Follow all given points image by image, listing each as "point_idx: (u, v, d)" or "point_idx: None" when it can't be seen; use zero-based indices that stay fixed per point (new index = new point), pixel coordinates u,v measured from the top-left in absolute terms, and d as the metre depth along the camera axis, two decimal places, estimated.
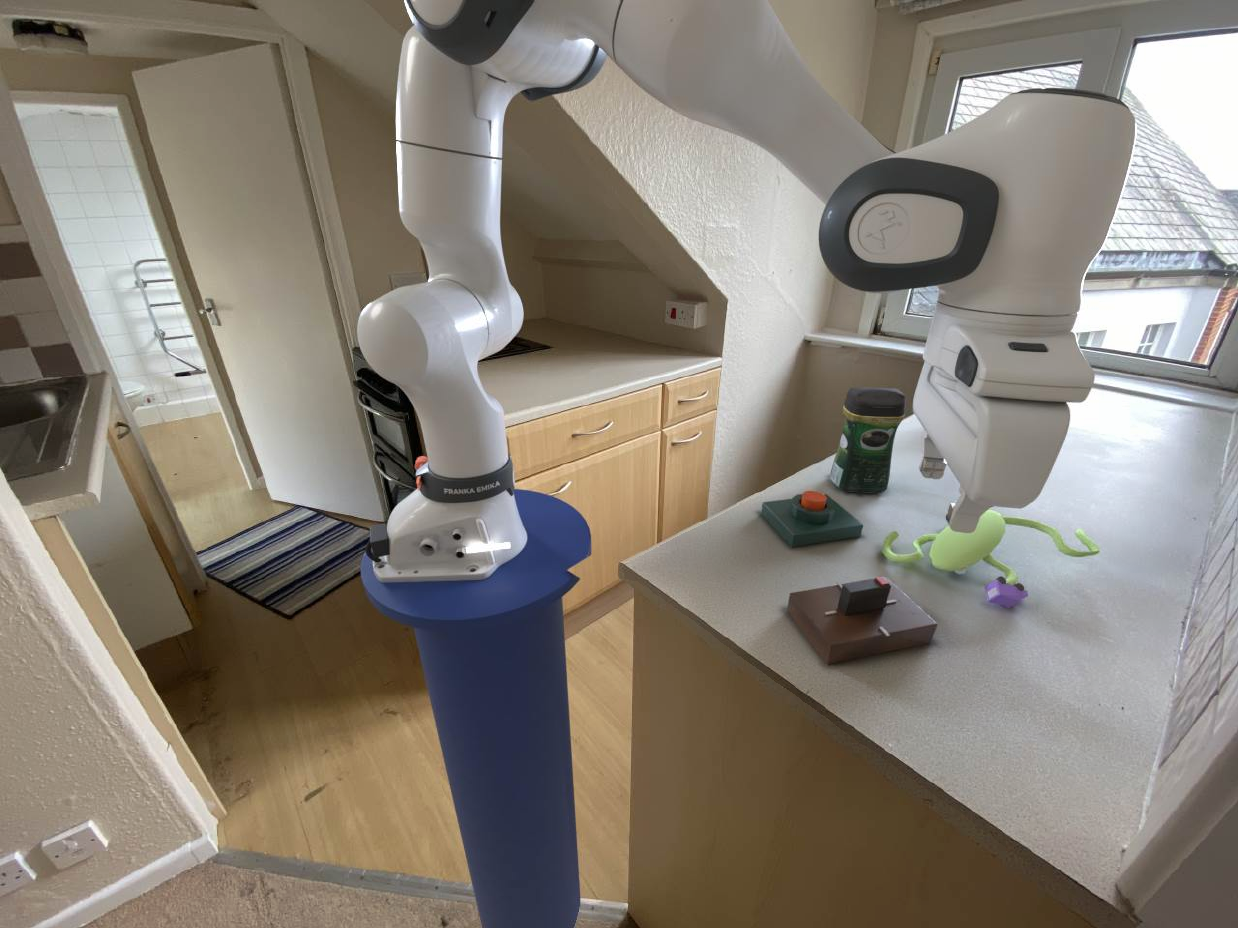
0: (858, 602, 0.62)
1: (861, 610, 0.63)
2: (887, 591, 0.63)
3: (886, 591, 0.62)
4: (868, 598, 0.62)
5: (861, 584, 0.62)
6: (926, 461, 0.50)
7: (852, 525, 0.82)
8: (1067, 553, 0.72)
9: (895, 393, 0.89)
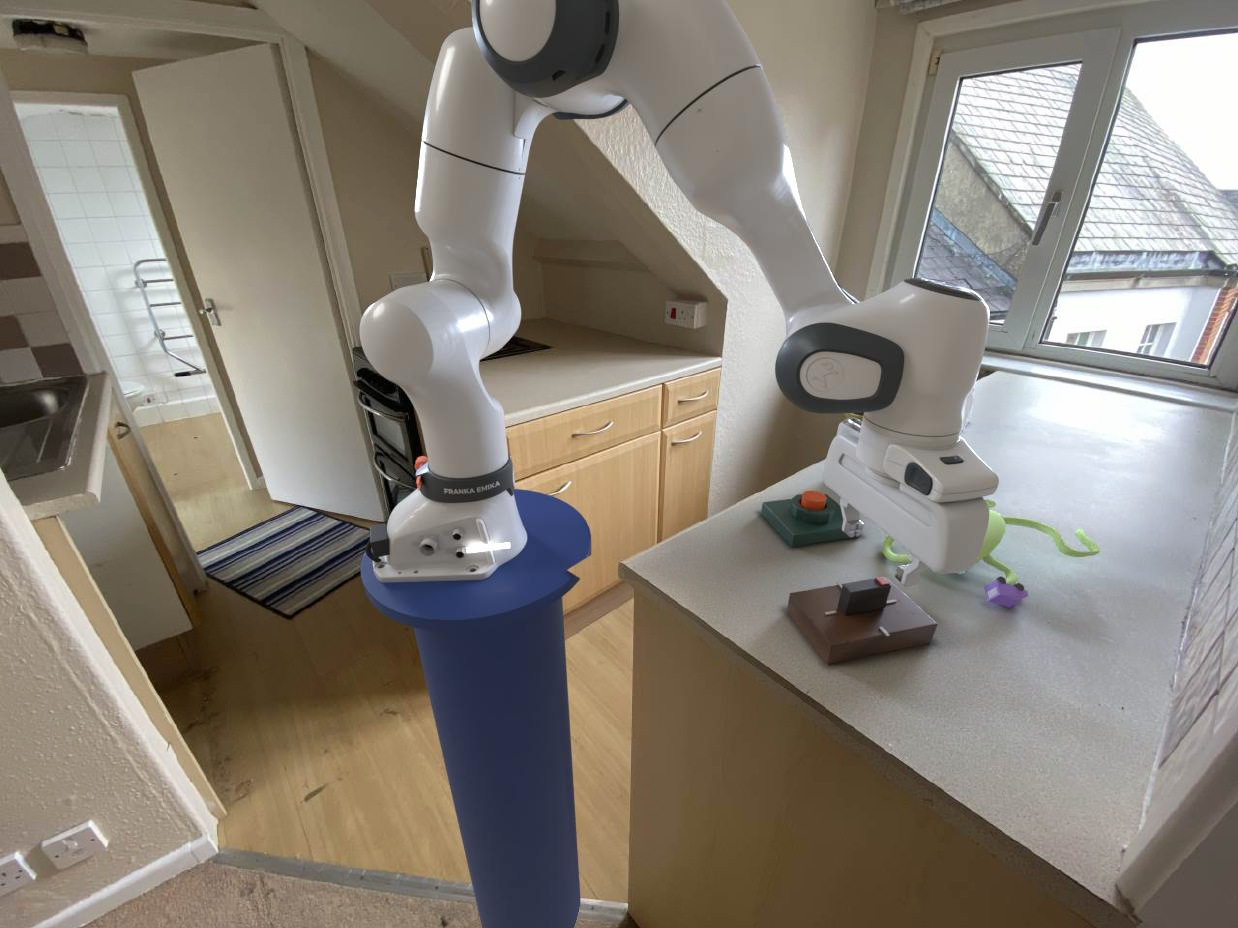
0: (858, 602, 0.62)
1: (861, 610, 0.63)
2: (887, 591, 0.63)
3: (886, 591, 0.62)
4: (868, 598, 0.62)
5: (861, 584, 0.62)
6: (851, 526, 0.63)
7: None
8: (1067, 553, 0.72)
9: None
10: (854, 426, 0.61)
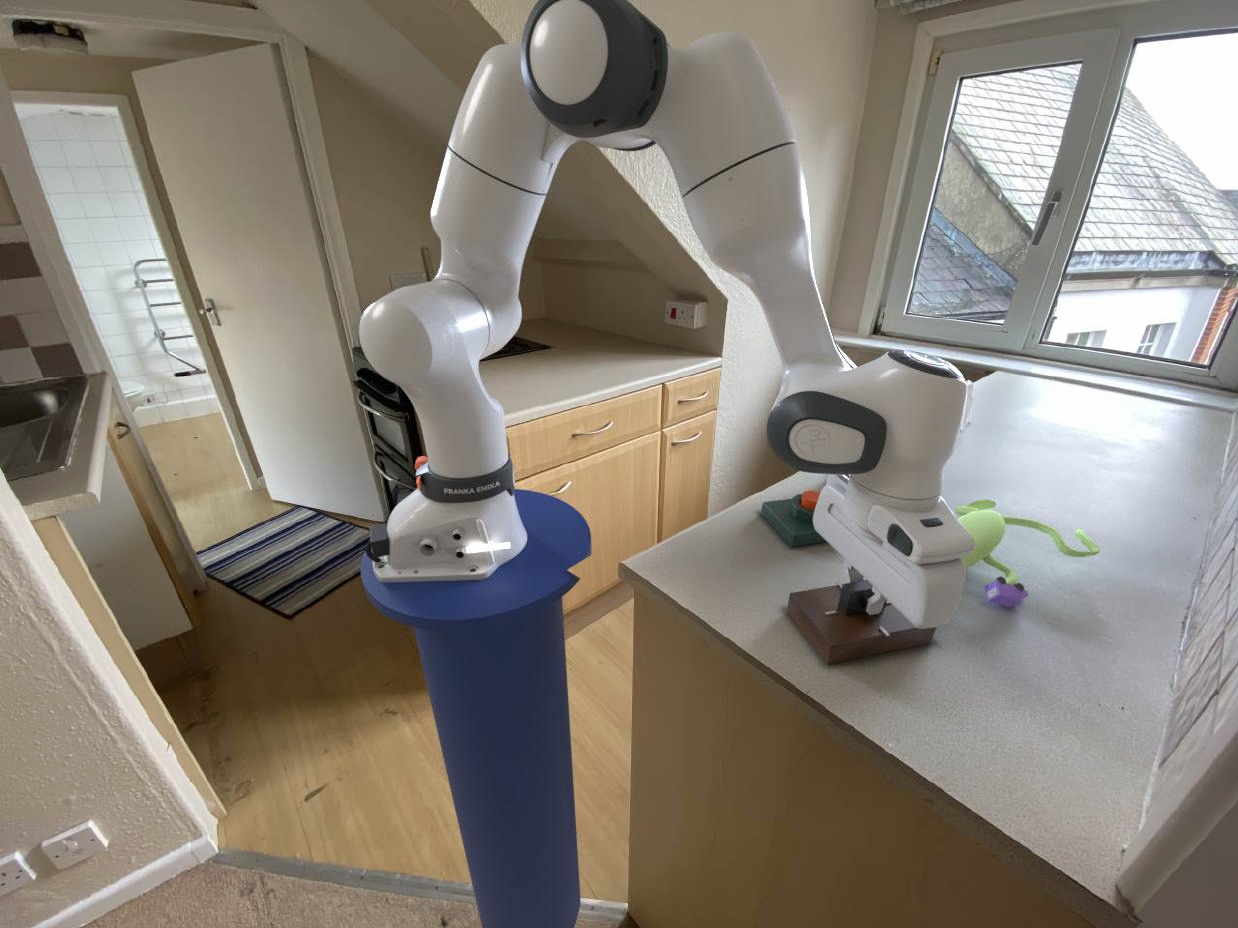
0: (858, 602, 0.62)
1: (861, 610, 0.63)
2: None
3: None
4: None
5: (861, 584, 0.62)
6: None
7: None
8: (1067, 553, 0.72)
9: None
10: (842, 478, 0.64)
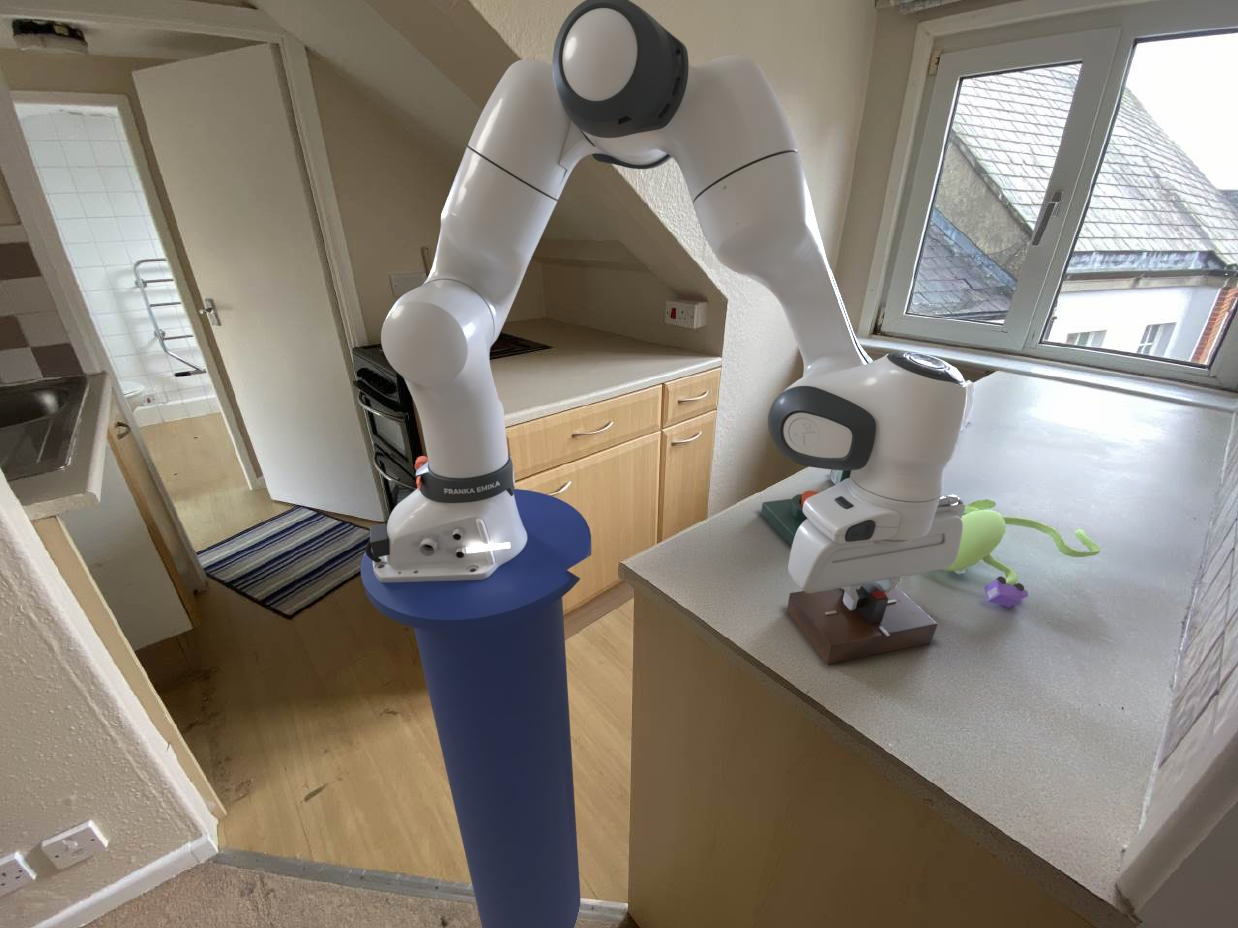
0: None
1: None
2: (873, 604, 0.60)
3: (872, 603, 0.61)
4: None
5: None
6: None
7: None
8: (1067, 553, 0.72)
9: None
10: None
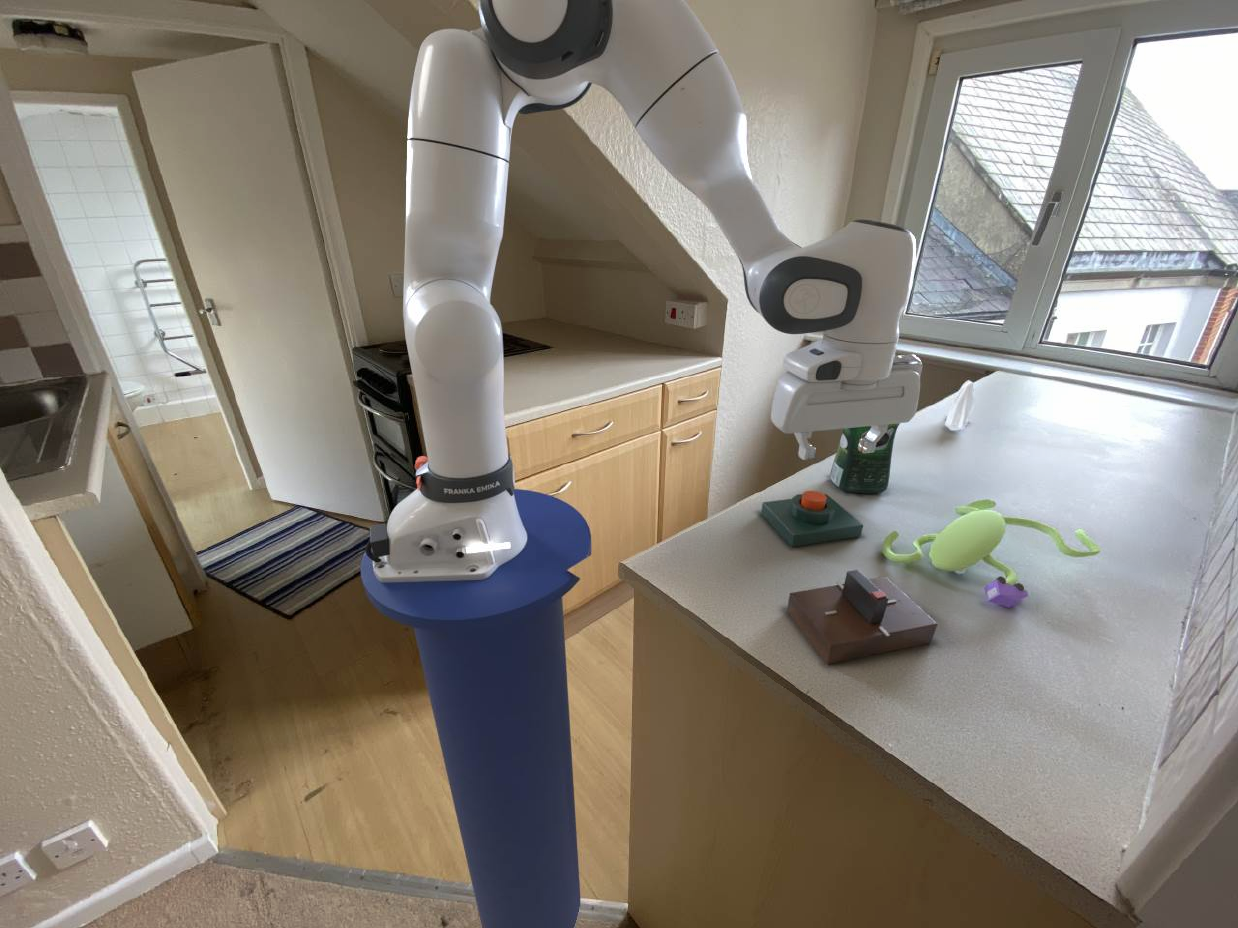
0: (851, 590, 0.64)
1: (852, 602, 0.64)
2: (873, 604, 0.60)
3: (872, 603, 0.61)
4: (858, 594, 0.63)
5: (864, 580, 0.63)
6: None
7: (852, 525, 0.82)
8: (1067, 553, 0.72)
9: None
10: None
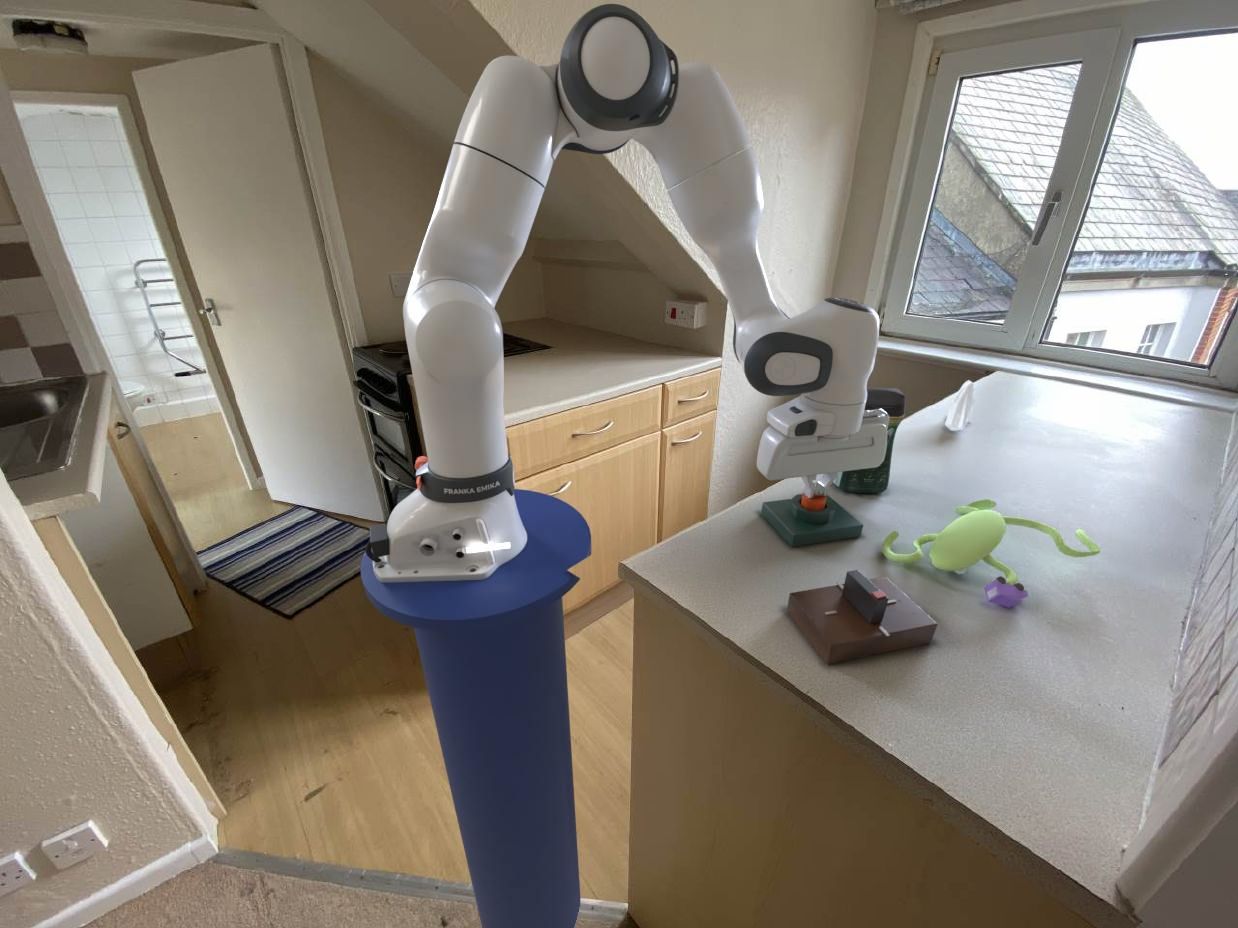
0: (851, 590, 0.64)
1: (852, 602, 0.64)
2: (873, 604, 0.60)
3: (872, 603, 0.61)
4: (858, 594, 0.63)
5: (864, 580, 0.63)
6: (813, 483, 0.84)
7: (852, 525, 0.82)
8: (1067, 553, 0.72)
9: (895, 393, 0.89)
10: None
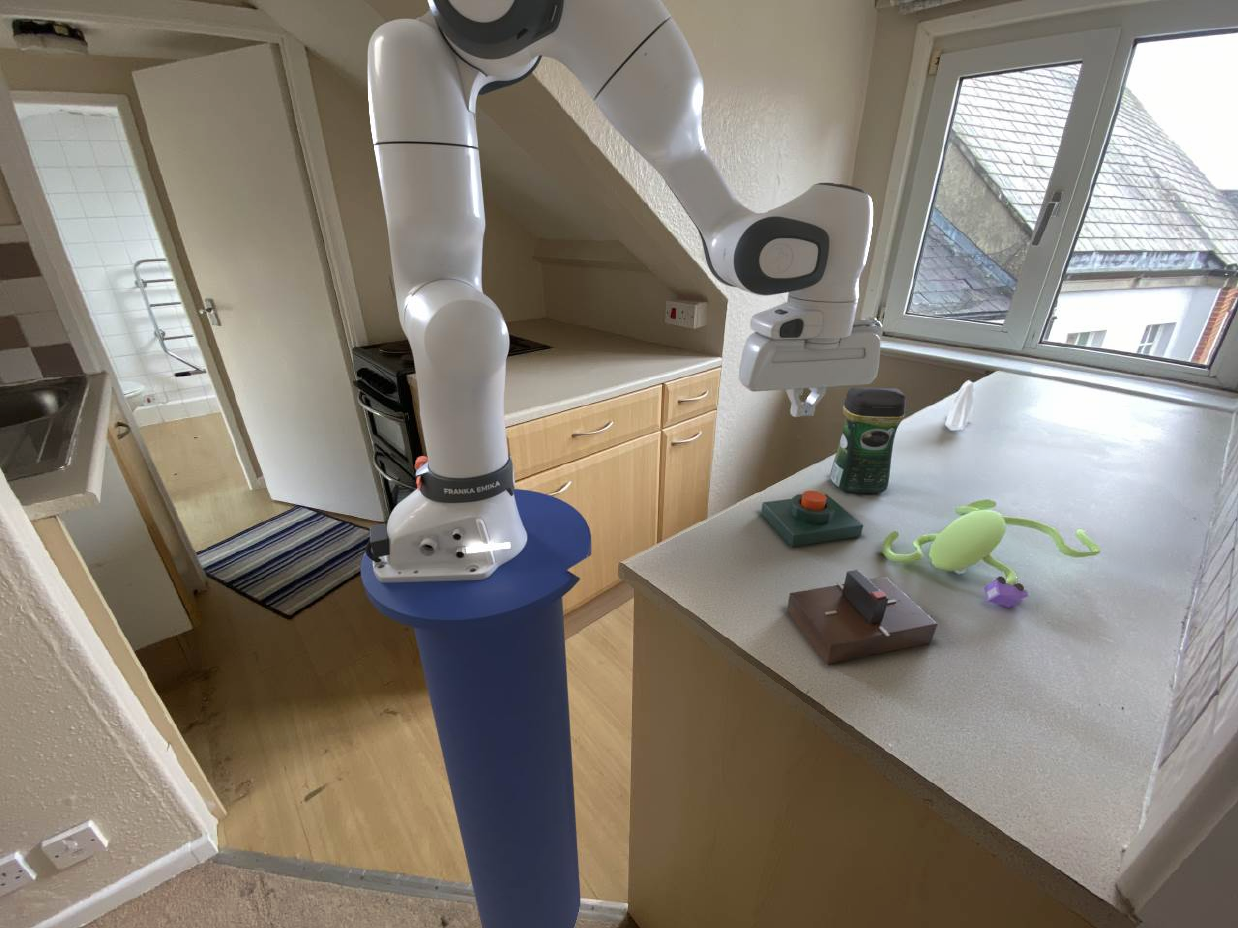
0: (851, 590, 0.64)
1: (852, 602, 0.64)
2: (873, 604, 0.60)
3: (872, 603, 0.61)
4: (858, 594, 0.63)
5: (864, 580, 0.63)
6: (800, 402, 0.77)
7: (852, 525, 0.82)
8: (1067, 553, 0.72)
9: (895, 393, 0.89)
10: None
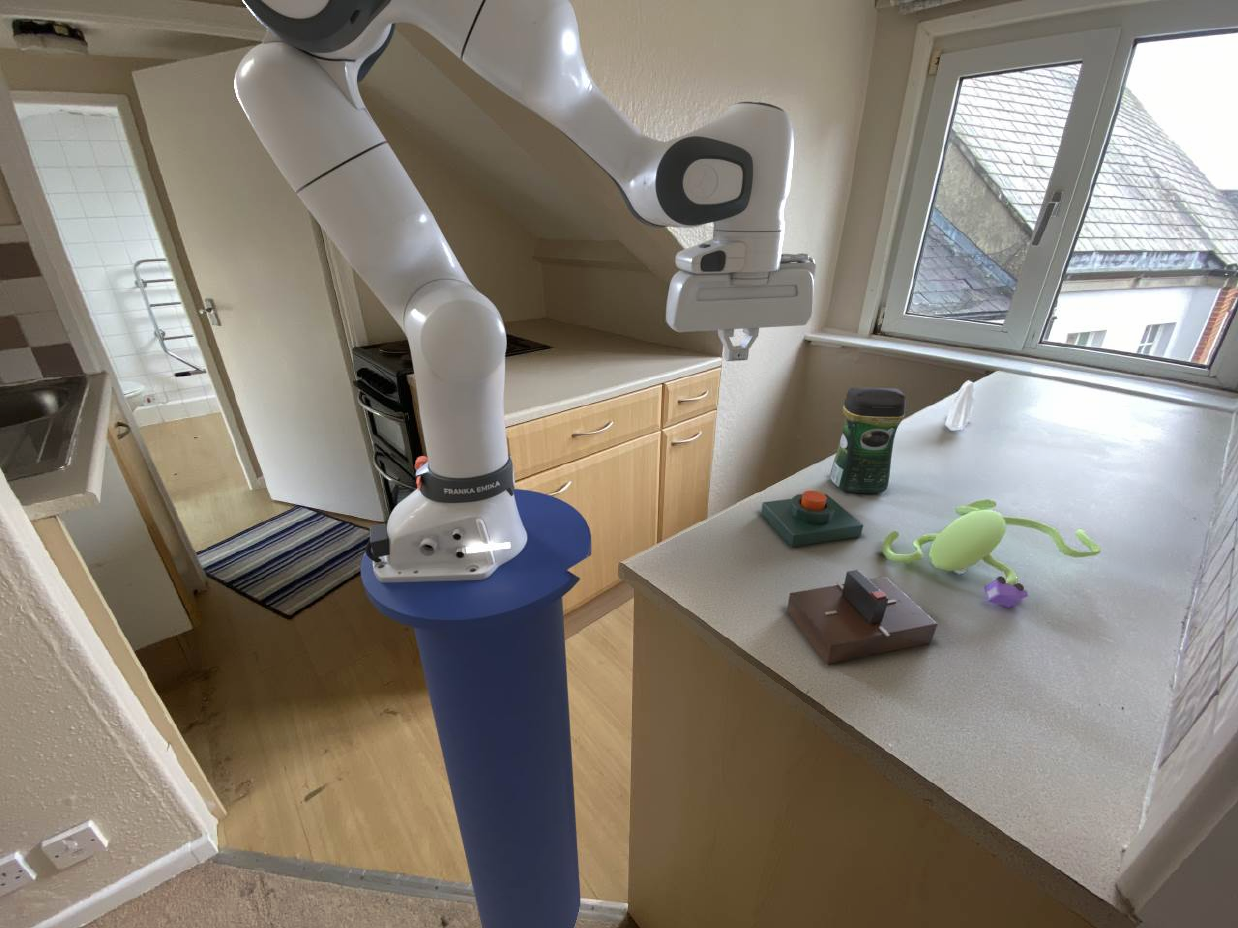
0: (851, 590, 0.64)
1: (852, 602, 0.64)
2: (873, 604, 0.60)
3: (872, 603, 0.61)
4: (858, 594, 0.63)
5: (864, 580, 0.63)
6: (734, 346, 0.74)
7: (852, 525, 0.82)
8: (1067, 553, 0.72)
9: (895, 393, 0.89)
10: None
